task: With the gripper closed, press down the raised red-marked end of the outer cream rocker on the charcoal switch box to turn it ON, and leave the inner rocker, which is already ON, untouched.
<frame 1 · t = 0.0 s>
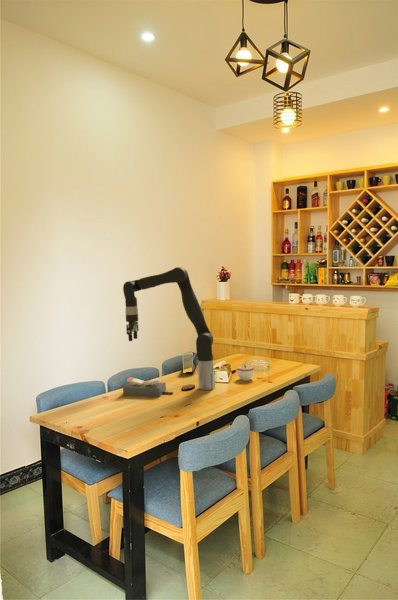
hand: (133, 339, 278), 29 cm above the table, fingers open, 8 cm apart
lidded jar: (245, 379, 288), on the table
switch box: (144, 393, 264), on the table
rocker outer: (135, 381, 265), point 7 cm above the table, hinge at -15.0°
rocker inner: (153, 382, 263), point 7 cm above the table, hinge at 15.0°
clear pitcher: (191, 370, 319), on the table
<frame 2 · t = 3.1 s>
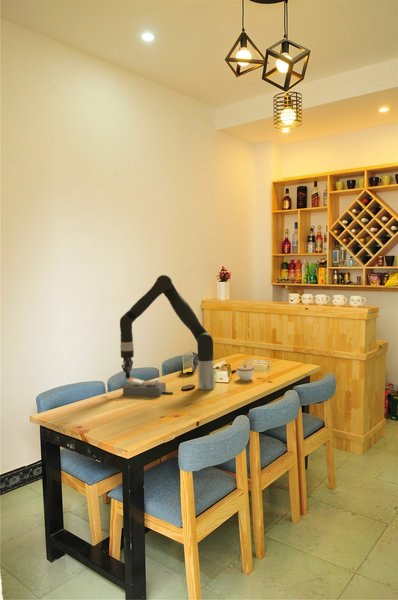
hand: (128, 378, 266), 9 cm above the table, fingers closed
rocker outer: (135, 381, 265), point 7 cm above the table, hinge at -13.5°, touching gripper
everything else where it was.
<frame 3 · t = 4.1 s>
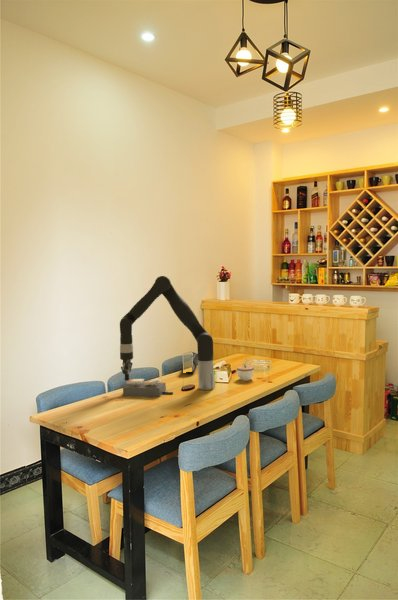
hand: (127, 380, 266), 8 cm above the table, fingers closed
rocker outer: (135, 381, 265), point 7 cm above the table, hinge at 2.5°, touching gripper
everything else where it was.
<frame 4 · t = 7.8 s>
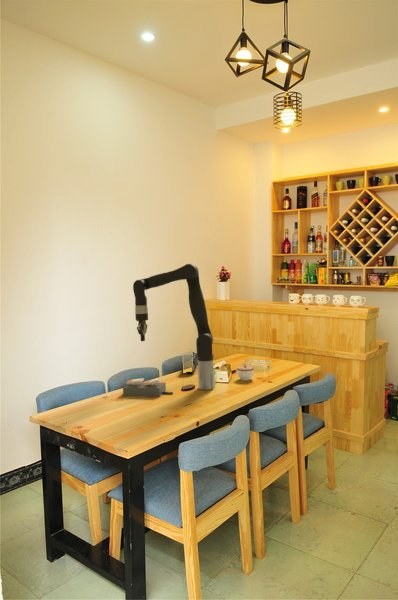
hand: (142, 340, 275), 29 cm above the table, fingers closed
rocker outer: (135, 381, 265), point 7 cm above the table, hinge at 8.3°
everything else where it was.
at the end: rocker outer at +8° (first picture: -15°); rocker inner at +15° (first picture: +15°) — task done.
